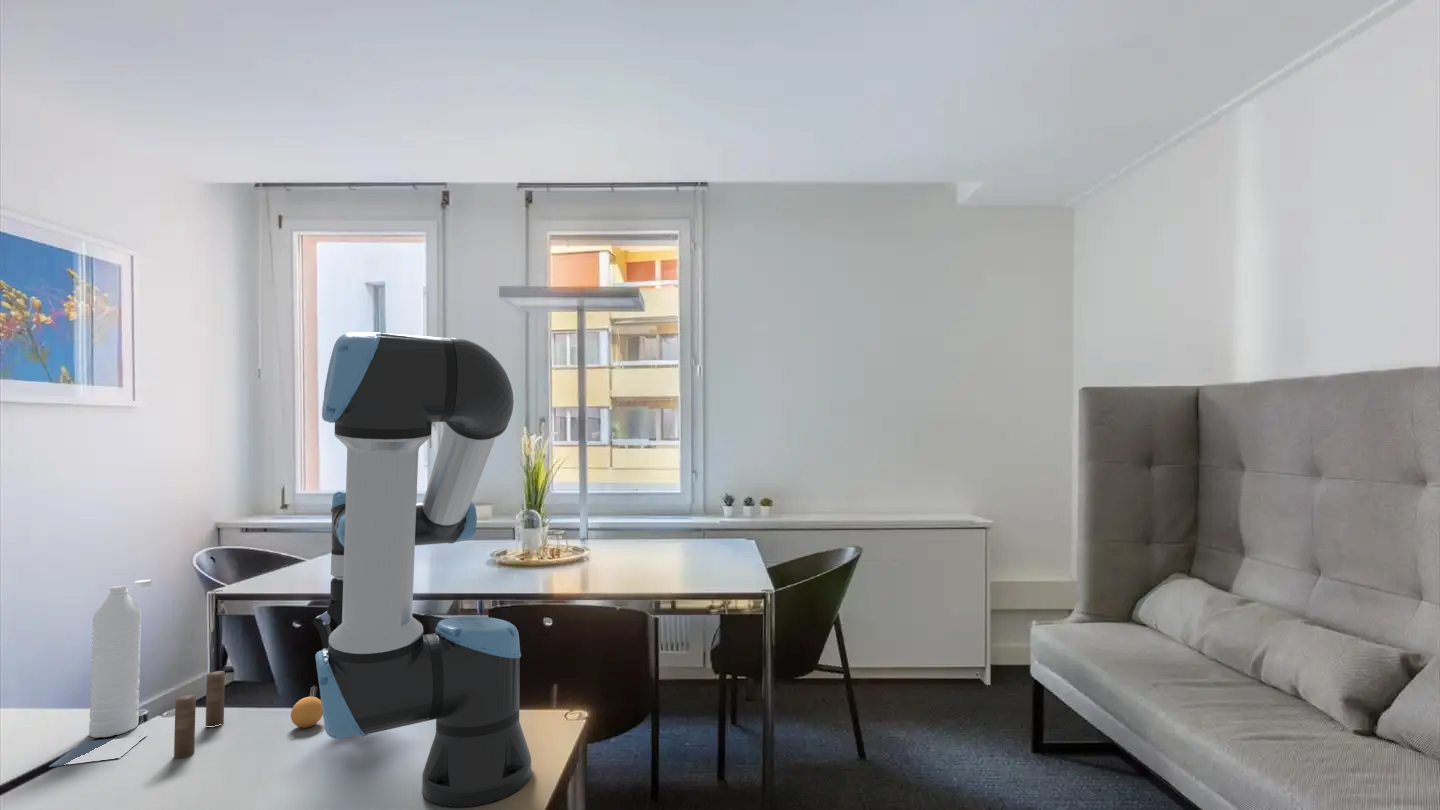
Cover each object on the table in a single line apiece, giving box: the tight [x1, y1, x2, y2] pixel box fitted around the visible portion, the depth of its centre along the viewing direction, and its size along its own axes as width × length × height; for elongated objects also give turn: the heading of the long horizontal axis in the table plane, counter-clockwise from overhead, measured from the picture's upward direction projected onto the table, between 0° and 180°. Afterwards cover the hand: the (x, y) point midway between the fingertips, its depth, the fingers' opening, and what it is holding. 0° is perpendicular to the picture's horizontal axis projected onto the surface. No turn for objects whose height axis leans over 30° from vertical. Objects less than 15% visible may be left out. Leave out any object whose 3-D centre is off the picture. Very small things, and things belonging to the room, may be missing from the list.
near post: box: [173, 694, 197, 759], centre depth 111 cm, size 3×3×9 cm
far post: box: [205, 670, 226, 727], centre depth 122 cm, size 3×3×9 cm
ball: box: [290, 696, 323, 729], centre depth 121 cm, size 5×5×5 cm
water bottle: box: [88, 579, 152, 739], centre depth 122 cm, size 9×6×25 cm
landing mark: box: [48, 737, 116, 768], centre depth 112 cm, size 9×9×1 cm
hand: (352, 707), depth 124 cm, fingers closed
